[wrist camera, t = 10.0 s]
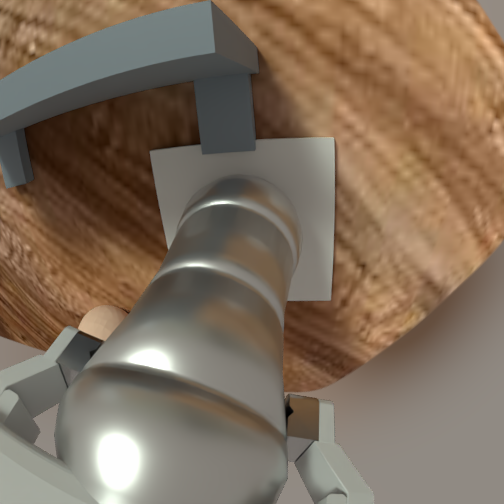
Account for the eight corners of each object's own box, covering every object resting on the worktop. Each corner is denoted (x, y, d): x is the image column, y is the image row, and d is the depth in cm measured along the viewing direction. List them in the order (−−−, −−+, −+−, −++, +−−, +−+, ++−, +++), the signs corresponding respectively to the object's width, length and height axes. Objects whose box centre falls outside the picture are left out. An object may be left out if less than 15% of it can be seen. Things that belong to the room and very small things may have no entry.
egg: (95, 285, 25) (58, 328, 20) (147, 303, 25) (116, 353, 20) (99, 326, 27) (69, 370, 22) (147, 344, 27) (122, 392, 22)
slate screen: (265, 147, 18) (231, 207, 9) (10, 185, 21) (-74, 236, 13) (256, 47, 15) (210, 0, 6) (-2, 120, 18) (-94, 156, 10)
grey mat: (330, 297, 22) (330, 300, 22) (181, 295, 24) (179, 298, 23) (333, 137, 17) (334, 138, 17) (152, 150, 19) (149, 151, 18)
